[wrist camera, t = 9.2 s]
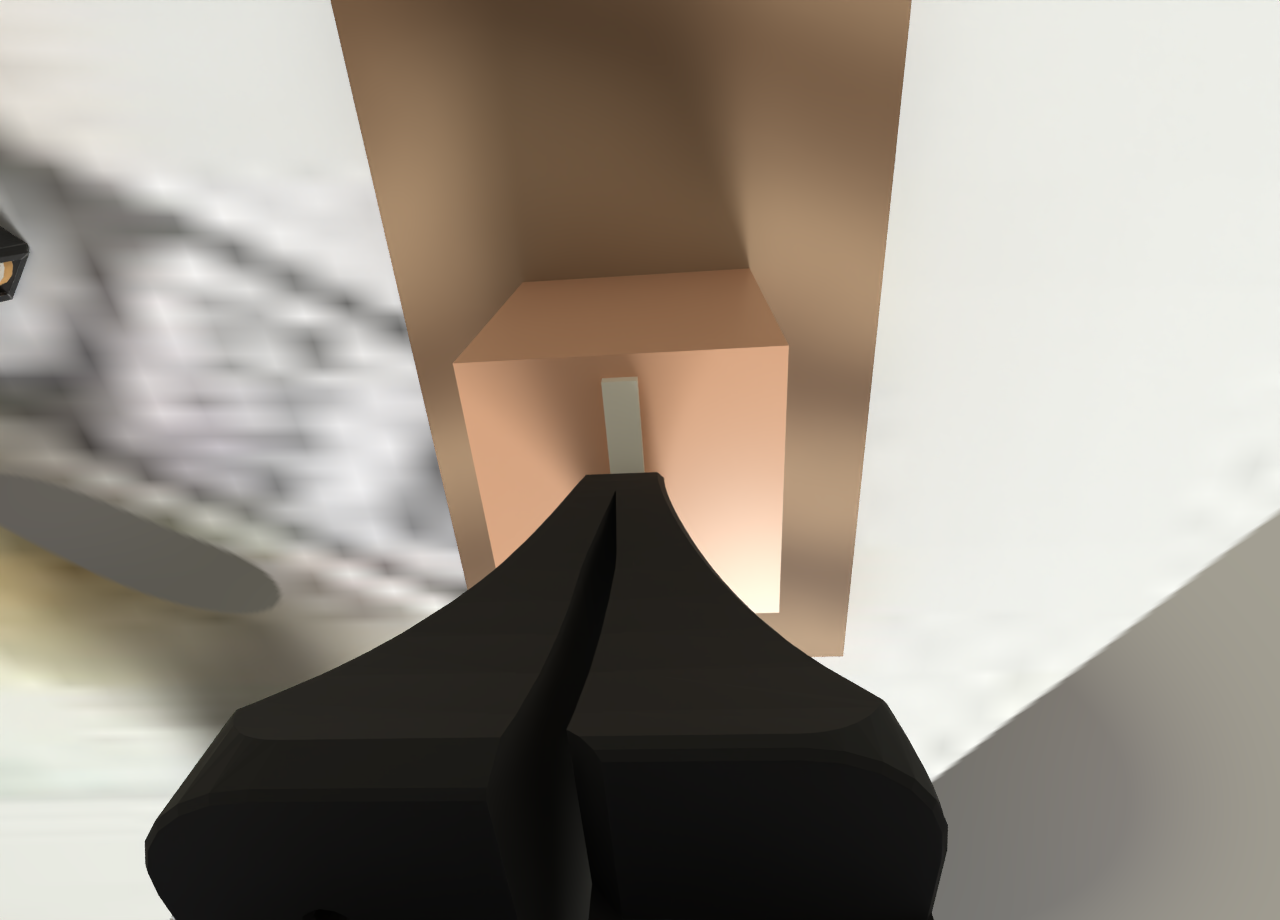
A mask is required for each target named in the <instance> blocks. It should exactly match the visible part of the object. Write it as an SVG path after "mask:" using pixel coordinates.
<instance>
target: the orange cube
mask: <svg viewBox="0 0 1280 920" xmlns="http://www.w3.org/2000/svg"><path fill="white" fill-rule="evenodd" d="M788 354H789V345H788V343H787V341H786V339H785V337H784V335H783V333H782V331H781V329H780V327H779V325H778V323H777V321H776V319H775V317H774V315H773V313H772V311H771V309H770V308H769V306H768V304H767V302H766V300H765V298H764V296H763V294H762V292H761V290H760V288H759V286H758V284H757V282H756V280H755V278H754V276H753V274H752V272H751V270H750V268H747V269H731V270H714V271H698V272H682V273H665V274H649V275H633V276H617V277H600V278H584V279H568V280H551V281H535V282H523V283H522V284H521V285H520V286H519V287H518V288H517V289H516V291H515V292H514V293H513V294H512V295H511V296H510V298H509V299H508V300H507V301H506V302H505V303H504V305H503V306H502V307H501V308H500V309H499V310H498V312H497V313H496V314H495V315H494V316H493V317H492V318H491V320H490V321H489V322H488V323H487V324H486V325H485V327H484V328H483V329H482V330H481V331H480V332H479V334H478V335H477V336H476V337H475V338H474V339H473V341H472V342H471V343H470V344H469V345H468V346H467V347H466V349H465V350H464V351H463V352H462V353H461V354H460V356H459V357H458V358H457V359H456V360H455V361H454V363H453V367H454V372H455V377H456V381H457V386H458V391H459V396H460V400H461V405H462V410H463V415H464V420H465V424H466V429H467V434H468V439H469V443H470V448H471V453H472V458H473V462H474V467H475V472H476V477H477V481H478V486H479V491H480V496H481V500H482V505H483V510H484V515H485V519H486V524H487V529H488V534H489V539H490V543H491V548H492V553H493V558H494V562H495V567H496V568H497V567H498V566H499V565H500V564H501V563H502V562H504V561H505V560H506V559H507V558H508V557H509V556H510V555H511V554H512V553H513V552H514V551H515V550H516V549H517V548H518V547H520V546H521V545H522V544H523V543H524V542H525V541H526V540H527V539H528V538H529V537H530V536H531V535H532V534H533V533H534V532H535V531H536V530H537V529H538V527H539V526H540V525H541V524H542V523H543V522H544V521H545V520H546V519H547V518H548V517H549V516H550V515H551V514H552V512H553V511H554V510H555V509H556V508H557V507H558V506H559V505H560V503H561V502H562V501H563V500H564V499H565V498H566V496H567V495H568V494H569V493H570V492H571V491H572V489H573V488H574V487H575V486H576V485H577V484H578V483H579V482H580V481H581V480H582V478H583V477H584V476H585V475H592V474H619V473H645V472H658V473H659V474H660V475H661V476H662V477H664V483H665V487H666V490H667V493H668V496H669V498H670V501H671V503H672V505H673V507H674V509H675V511H676V513H677V515H678V517H679V519H680V520H681V522H682V524H683V525H684V527H685V529H686V530H687V532H688V534H689V535H690V537H691V539H692V540H693V542H694V543H695V545H696V546H697V548H698V549H699V550H700V552H701V553H702V554H703V556H704V557H705V559H706V560H707V561H708V563H709V564H710V565H711V566H712V568H713V569H714V570H715V571H716V573H717V574H718V575H719V576H720V577H721V579H722V580H723V581H724V582H725V583H726V584H727V585H728V586H729V588H730V589H731V590H732V591H733V592H734V593H735V594H736V595H737V596H738V597H739V598H740V599H741V600H742V601H743V602H744V603H745V604H746V605H747V606H748V607H749V608H750V609H751V610H752V611H753V612H754V613H779V600H780V573H781V545H782V518H783V491H784V464H785V436H786V409H787V382H788Z"/></svg>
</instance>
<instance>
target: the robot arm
mask: <svg viewBox="0 0 1280 920" xmlns="http://www.w3.org/2000/svg"><path fill="white" fill-rule="evenodd" d="M947 834H948V824H947V822H946V820H945V818H944V815H943V811H942V808H941V805H940V802H939V800H938V797H937V794H936V792H935V790H934V787H933V785H932V783H931V781H930V779H929V776H928V774H927V772H926V770H925V768H924V766H923V765H922V763H921V761H920V759H919V757H918V756H917V754H916V752H915V750H914V748H913V746H912V745H911V743H910V741H909V739H908V737H907V736H906V734H905V733H904V731H903V729H902V728H901V726H900V724H899V723H898V721H897V719H896V718H895V716H894V714H893V713H892V711H891V710H890V708H889V707H888V705H887V704H886V702H885V701H884V700H882V699H881V698H879V697H877V696H875V695H874V694H872V693H870V692H868V691H867V690H865V689H863V688H861V687H860V686H858V685H856V684H854V683H853V682H851V681H849V680H847V679H846V678H844V677H842V676H840V675H839V674H837V673H835V672H834V671H832V670H830V669H828V668H827V667H825V666H823V665H822V664H820V663H819V662H817V661H816V660H814V659H813V658H811V657H810V656H808V655H807V654H806V653H804V652H803V651H801V650H800V649H798V648H797V647H795V646H794V645H793V644H791V643H790V642H789V641H787V640H786V639H785V638H784V637H782V636H781V635H780V634H779V633H778V632H776V631H775V630H774V629H773V628H772V627H770V626H769V625H768V624H767V623H765V622H764V621H763V620H762V619H761V618H759V617H758V616H757V615H756V614H755V613H754V612H753V611H752V610H751V609H750V608H749V607H748V606H747V605H746V604H745V603H744V602H743V601H742V600H741V599H740V598H739V597H738V596H737V595H736V594H735V593H734V592H733V591H732V590H731V589H730V588H729V586H728V585H727V584H726V583H725V582H724V581H723V580H722V579H721V577H720V576H719V575H718V574H717V573H716V571H715V570H714V569H713V568H712V566H711V565H710V564H709V563H708V561H707V560H706V559H705V557H704V556H703V554H702V553H701V552H700V550H699V549H698V548H697V546H696V545H695V543H694V542H693V540H692V539H691V537H690V535H689V534H688V532H687V530H686V529H685V527H684V525H683V524H682V522H681V520H680V519H679V517H678V515H677V513H676V511H675V509H674V507H673V505H672V503H671V501H670V498H669V496H668V493H667V490H666V487H665V483H664V477H662V476H661V475H660V474H659V473H658V472H645V473H619V474H592V475H585V476H584V477H583V478H582V480H581V481H580V482H579V483H578V484H577V485H576V486H575V487H574V488H573V489H572V491H571V492H570V493H569V494H568V495H567V496H566V498H565V499H564V500H563V501H562V502H561V503H560V505H559V506H558V507H557V508H556V509H555V510H554V511H553V512H552V514H551V515H550V516H549V517H548V518H547V519H546V520H545V521H544V522H543V523H542V524H541V525H540V526H539V527H538V529H537V530H536V531H535V532H534V533H533V534H532V535H531V536H530V537H529V538H528V539H527V540H526V541H525V542H524V543H523V544H522V545H521V546H520V547H518V548H517V549H516V550H515V551H514V552H513V553H512V554H511V555H510V556H509V557H508V558H507V559H506V560H505V561H504V562H502V563H501V564H500V565H499V566H498V567H497V568H495V569H494V570H493V571H492V572H491V573H489V574H488V575H487V576H486V577H484V578H483V579H482V580H481V581H479V582H478V583H477V584H475V585H474V586H473V587H471V588H470V589H469V590H467V591H466V592H465V593H463V594H462V595H461V596H459V597H458V598H456V599H455V600H454V601H452V602H451V603H449V604H448V605H446V606H444V607H443V608H441V609H440V610H438V611H437V612H435V613H433V614H432V615H430V616H429V617H427V618H425V619H424V620H422V621H421V622H419V623H418V624H416V625H414V626H413V627H411V628H410V629H408V630H406V631H405V632H403V633H401V634H400V635H398V636H396V637H394V638H393V639H391V640H389V641H387V642H385V643H383V644H382V645H380V646H378V647H376V648H374V649H372V650H371V651H369V652H367V653H365V654H363V655H361V656H359V657H357V658H355V659H353V660H351V661H349V662H347V663H345V664H343V665H341V666H339V667H337V668H335V669H332V670H330V671H328V672H326V673H324V674H322V675H320V676H317V677H315V678H313V679H310V680H308V681H306V682H303V683H301V684H298V685H296V686H294V687H291V688H289V689H287V690H284V691H282V692H280V693H277V694H275V695H273V696H270V697H268V698H265V699H263V700H261V701H258V702H256V703H253V704H251V705H248V706H246V707H243V708H240V709H238V710H236V712H235V713H234V714H233V715H232V717H231V718H230V719H229V720H228V722H227V723H226V724H225V726H224V727H223V728H222V730H221V731H220V733H219V734H218V735H217V737H216V738H215V739H214V741H213V742H212V744H211V745H210V746H209V748H208V749H207V750H206V752H205V753H204V754H203V756H202V757H201V759H200V760H199V761H198V763H197V764H196V766H195V767H194V768H193V770H192V771H191V772H190V774H189V775H188V777H187V778H186V779H185V781H184V782H183V783H182V785H181V786H180V788H179V789H178V790H177V792H176V793H175V794H174V796H173V797H172V799H171V800H170V801H169V803H168V804H167V805H166V807H165V808H164V810H163V811H162V812H161V814H160V815H159V816H158V818H157V819H156V821H155V822H154V824H153V826H152V828H151V830H150V832H149V834H148V836H147V838H146V840H145V864H146V868H147V871H148V874H149V876H150V878H151V880H152V882H153V885H154V887H155V889H156V891H157V893H158V895H159V896H160V898H161V899H162V901H163V902H164V904H165V905H166V907H167V908H168V910H169V911H170V912H171V914H172V917H171V918H170V920H934V919H933V916H932V909H933V905H934V901H935V897H936V893H937V889H938V885H939V881H940V876H941V873H942V869H943V864H944V861H945V856H946V852H947V836H948V835H947Z"/></svg>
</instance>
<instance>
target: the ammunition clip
mask: <svg viewBox="0 0 1280 920" xmlns="http://www.w3.org/2000/svg"><path fill="white" fill-rule="evenodd" d="M28 255H29V250H28V248H27V244H26V243H25V242H23V241H22V240H20V239H19V238H17V237H16V236H14V235H13V234H11V233H10V232H8V231H7V230H5V229H4V228H2V227H1V226H0V302H2V301H7V300H11V299H13V296H14V293H15V290H16V288H17V285H18V282H19V280H20V277H21V274H22V271H23V269H24V266H25V263H26V261H27V258H28Z"/></svg>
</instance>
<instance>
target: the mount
mask: <svg viewBox="0 0 1280 920" xmlns="http://www.w3.org/2000/svg"><path fill="white" fill-rule="evenodd" d="M911 1H912V0H331V4H332V8H333V13H334V17H335V21H336V26H337V30H338V34H339V39H340V43H341V47H342V51H343V56H344V60H345V64H346V69H347V73H348V77H349V82H350V86H351V90H352V94H353V99H354V103H355V107H356V112H357V116H358V120H359V124H360V129H361V133H362V137H363V142H364V146H365V150H366V155H367V159H368V163H369V167H370V172H371V176H372V180H373V185H374V189H375V193H376V198H377V202H378V206H379V210H380V215H381V219H382V223H383V228H384V232H385V236H386V241H387V245H388V249H389V253H390V258H391V262H392V266H393V271H394V275H395V279H396V284H397V288H398V292H399V296H400V301H401V305H402V309H403V314H404V318H405V322H406V326H407V331H408V335H409V339H410V344H411V348H412V352H413V357H414V361H415V365H416V369H417V374H418V378H419V382H420V387H421V391H422V395H423V400H424V404H425V408H426V412H427V417H428V421H429V425H430V430H431V434H432V438H433V443H434V447H435V451H436V455H437V460H438V464H439V468H440V473H441V477H442V481H443V485H444V490H445V494H446V498H447V503H448V507H449V511H450V516H451V520H452V524H453V528H454V533H455V537H456V541H457V546H458V550H459V554H460V559H461V563H462V567H463V571H464V576H465V580H466V584H467V589H468V590H469V589H470V588H471V587H473V586H474V585H475V584H477V583H478V582H479V581H481V580H482V579H483V578H484V577H486V576H487V575H488V574H489V573H491V572H492V571H493V570H494V569H495V568H496V567H495V562H494V558H493V553H492V548H491V543H490V539H489V534H488V529H487V524H486V519H485V515H484V510H483V505H482V500H481V496H480V491H479V486H478V481H477V477H476V472H475V467H474V462H473V458H472V453H471V448H470V443H469V439H468V434H467V429H466V424H465V420H464V415H463V410H462V405H461V400H460V396H459V391H458V386H457V381H456V377H455V372H454V367H453V363H454V361H455V360H456V359H457V358H458V357H459V356H460V354H461V353H462V352H463V351H464V350H465V349H466V347H467V346H468V345H469V344H470V343H471V342H472V341H473V339H474V338H475V337H476V336H477V335H478V334H479V332H480V331H481V330H482V329H483V328H484V327H485V325H486V324H487V323H488V322H489V321H490V320H491V318H492V317H493V316H494V315H495V314H496V313H497V312H498V310H499V309H500V308H501V307H502V306H503V305H504V303H505V302H506V301H507V300H508V299H509V298H510V296H511V295H512V294H513V293H514V292H515V291H516V289H517V288H518V287H519V286H520V285H521V284H522V283H523V282H535V281H551V280H568V279H584V278H600V277H617V276H633V275H649V274H665V273H682V272H698V271H714V270H731V269H747V268H750V270H751V272H752V274H753V276H754V278H755V280H756V282H757V284H758V286H759V288H760V290H761V292H762V294H763V296H764V298H765V300H766V302H767V304H768V306H769V308H770V309H771V311H772V313H773V315H774V317H775V319H776V321H777V323H778V325H779V327H780V329H781V331H782V333H783V335H784V337H785V339H786V341H787V343H788V345H789V354H788V382H787V409H786V436H785V464H784V491H783V518H782V545H781V573H780V600H779V613H755V614H756V615H757V616H758V617H759V618H761V619H762V620H763V621H764V622H765V623H767V624H768V625H769V626H770V627H772V628H773V629H774V630H775V631H776V632H778V633H779V634H780V635H781V636H782V637H784V638H785V639H786V640H787V641H789V642H790V643H791V644H793V645H794V646H795V647H797V648H798V649H800V650H801V651H803V652H804V653H806V654H807V655H808V656H810V657H826V656H843V651H844V641H845V631H846V622H847V612H848V603H849V593H850V584H851V574H852V565H853V555H854V545H855V536H856V526H857V517H858V507H859V498H860V488H861V479H862V469H863V459H864V450H865V440H866V431H867V421H868V412H869V402H870V393H871V383H872V373H873V364H874V354H875V345H876V335H877V326H878V316H879V306H880V297H881V287H882V278H883V268H884V259H885V249H886V240H887V230H888V220H889V211H890V201H891V192H892V182H893V173H894V163H895V154H896V144H897V134H898V125H899V115H900V106H901V96H902V87H903V77H904V68H905V58H906V48H907V39H908V29H909V20H910V10H911Z"/></svg>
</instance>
